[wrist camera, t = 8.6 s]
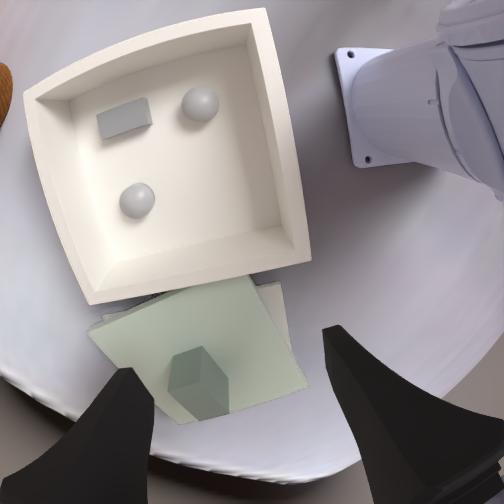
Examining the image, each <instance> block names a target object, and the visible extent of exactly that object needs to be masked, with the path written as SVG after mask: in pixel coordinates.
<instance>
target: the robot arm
mask: <svg viewBox="0 0 504 504" xmlns="http://www.w3.org/2000/svg"><path fill="white" fill-rule="evenodd" d="M436 29H437V31H438V33H439V35H440V36H437V37H433V38H430V39H426V40H423V41H420V42H417V43H413V44H410V45H407V46H404V47H401V48H398V49H395V50H391V49H376V48H339V49H337V50H336V51H335V53H334V57H335V61H336V65H337V70H338V75H339V79H340V84H341V89H342V95H343V100H344V106H345V112H346V118H347V124H348V130H349V137H350V144H351V152H352V160H353V164H354V165H355V166H356V167H358V168H368V167H375V166H383V165H391V164H399V163H407V162H418V163H422V164H425V165H428V166H432V167H435V168H438V169H441V170H445V171H448V172H451V173H454V174H457V175H460V176H463V177H466V178H468V179H471V180H474V181H477V182H479V183H482V184H484V185H486V186H488V187H490V188H491V189H492V190H493V192H494V193H495V196H496V198H497V200H500V201H502V202H504V0H455V1H453V2H451V3H449V4H448V5H446V6H445V7H443V8H442V9H441V10H440V17H439V23H438V24H437V28H436ZM347 52H349V53H351V54H352V58H349V57H348V56H347ZM367 156H368V157H369V162H368V163H366V162H365V158H366V157H367ZM322 333H323V342H324V353H325V363H326V369H327V372H328V376H329V379H330V382H331V385H332V388H333V391H334V393H335V395H336V398H337V400H338V402H339V404H340V406H341V409H342V411H343V413H344V415H345V417H346V420H347V422H348V424H349V426H350V428H351V431H352V433H353V435H354V438H355V440H356V443H357V445H358V448H359V451H360V455H361V458H362V461H363V465H364V468H365V471H366V475H367V478H368V482H369V486H370V490H371V494H372V497H373V501H374V504H504V475H503V476H501V477H500V475H499V473H498V471H500V470H501V467H500V465H499V463H498V461H499V460H500V459H501V458H502V457H503V456H504V420H503V419H499V418H495V417H490V416H486V415H482V414H478V413H475V412H472V411H469V410H466V409H463V408H461V407H458V406H456V405H453V404H451V403H449V402H446V401H444V400H442V399H440V398H437V397H435V396H433V395H431V394H429V393H428V392H426V391H424V390H422V389H420V388H418V387H417V386H415V385H413V384H412V383H410V382H409V381H407V380H405V379H404V378H402V377H401V376H399V375H398V374H397V373H395V372H394V371H392V370H391V369H390V368H388V367H387V366H386V365H384V364H383V363H382V362H380V361H379V360H378V359H377V358H376V357H374V356H373V355H372V354H371V353H369V352H368V351H367V350H366V349H365V348H364V347H363V346H361V345H360V344H359V343H358V342H357V341H356V340H355V339H354V338H353V337H352V336H351V335H350V334H349V333H348V332H347V331H346V330H345V329H344V328H343V327H342V326H340V325H336V326H332V327H329V328H325V329H322ZM153 425H154V398H153V396H152V395H151V394H150V392H149V391H148V390H147V388H146V387H145V385H144V384H143V382H142V381H141V380H140V378H139V377H138V375H137V374H136V372H135V371H134V369H133V368H132V367H127V368H119V369H118V370H117V371H116V373H115V374H114V375H113V376H112V377H111V379H110V380H109V381H108V383H107V384H106V385H105V386H104V388H103V389H102V390H101V392H100V393H99V394H98V396H97V397H96V398H95V399H94V401H93V402H92V403H91V405H90V406H89V407H88V408H87V410H86V411H85V412H84V413H83V414H82V416H81V417H80V418H79V419H78V420H77V422H76V423H75V424H74V425H73V426H72V428H71V429H70V430H69V431H68V432H67V433H66V434H65V435H64V436H63V437H62V438H61V439H60V440H59V441H58V442H57V443H56V444H55V445H54V446H52V447H51V448H50V449H49V450H48V451H46V452H45V453H44V454H43V455H42V456H40V457H39V458H38V459H36V460H35V461H33V462H32V463H30V464H29V465H27V466H26V467H24V468H23V469H21V470H19V471H17V472H16V473H13V474H12V475H10V476H8V477H5V478H4V479H3V481H2V484H1V487H0V504H148V500H147V467H148V460H149V453H150V446H151V439H152V432H153Z"/></svg>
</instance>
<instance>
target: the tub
mask: <svg viewBox="0 0 504 504" xmlns="http://www.w3.org/2000/svg"><path fill="white" fill-rule="evenodd" d="M23 99H24V106H25V113H26V119H27V125H28V130H29V135H30V140H31V145H32V149H33V153H34V158H35V162H36V166H37V170H38V173H39V177H40V181H41V184H42V188H43V191H44V194H45V198H46V201H47V204H48V207H49V210H50V213H51V216H52V219H53V222H54V224H55V227H56V230H57V233H58V235H59V238H60V241H61V243H62V246H63V248H64V251H65V253H66V255H67V258H68V260H69V263H70V265H71V267H72V270H73V272H74V274H75V276H76V278H77V281H78V283H79V285H80V287H81V289H82V291H83V293H84V295H85V297H86V299H87V301H88V303H89V305H94V304H100V303H106V302H111V301H116V300H122V299H127V298H133V297H138V296H143V295H148V294H154V293H159V292H164V291H169V290H174V289H179V288H184V287H189V286H194V285H199V284H204V283H209V282H214V281H219V280H224V279H229V278H233V277H238V276H243V275H248V274H253V273H257V272H262V271H267V270H271V269H276V268H280V267H285V266H290V265H294V264H299V263H303V262H308V261H312V257H311V249H310V241H309V233H308V225H307V218H306V211H305V204H304V197H303V190H302V183H301V177H300V171H299V165H298V159H297V153H296V147H295V141H294V136H293V130H292V125H291V120H290V115H289V109H288V104H287V99H286V94H285V90H284V85H283V80H282V76H281V71H280V67H279V62H278V58H277V53H276V49H275V45H274V41H273V37H272V33H271V29H270V25H269V21H268V17H267V13H266V9H265V8H256V9H248V10H240V11H234V12H228V13H222V14H216V15H211V16H207V17H202V18H197V19H193V20H189V21H185V22H181V23H177V24H174V25H170V26H166V27H163V28H160V29H157V30H153V31H150V32H147V33H144V34H141V35H138V36H136V37H133V38H130V39H127V40H125V41H122V42H120V43H117V44H115V45H112V46H110V47H107V48H105V49H103V50H100V51H98V52H96V53H94V54H92V55H89V56H87V57H85V58H83V59H81V60H79V61H77V62H75V63H73V64H71V65H69V66H67V67H65V68H63V69H62V70H60V71H58V72H56V73H54V74H53V75H51V76H49V77H47V78H46V79H44V80H42V81H41V82H39V83H37V84H36V85H34V86H33V87H31V88H30V89H28V90H26V91H25V92H23Z"/></svg>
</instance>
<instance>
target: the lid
mask: <svg viewBox="0 0 504 504" xmlns="http://www.w3.org/2000/svg"><path fill="white" fill-rule="evenodd" d="M87 334H88V335H89V336H90V338H91V339H92V340H93V341H94V342H95V343H96V345H97V346H98V347H99V348H100V349H101V350H102V351H103V352H104V354H105V355H106V356H107V357H108V358H109V359H110V360H111V361H112V362H113V363H114V364H115V365H116V366H117V368H118V369H119V368H127V367H132V368H133V369H134V371H135V372H136V374H137V375H138V377H139V378H140V380H141V381H142V382H143V384H144V385H145V387H146V388H147V390H148V391H149V392H150V394H151V395H152V396H153V398H154V403H155V404H156V405H157V406H158V407H159V408H160V409H161V410H162V411H164V412H165V413H166V414H167V415H168V416H169V417H171V418H172V419H173V420H174V421H175V422H176V423H178V424H179V425H182V424H187V423H191V422H195V421H202V420H206V419H210V418H214V417H218V416H222V415H226V414H229V413H231V412H234V411H238V410H241V409H245V408H248V407H251V406H254V405H258V404H261V403H264V402H267V401H270V400H273V399H276V398H279V397H282V396H284V395H287V394H290V393H293V392H295V391H298V390H301V389H303V388H306V387H309V386H308V383H307V380H306V378H305V376H304V374H303V372H302V371H301V369H300V367H299V365H298V363H297V362H296V360H295V358H294V356H293V354H292V352H291V351H290V349H289V347H288V345H287V343H286V342H285V340H284V338H283V336H282V334H281V332H280V331H279V329H278V327H277V325H276V323H275V321H274V319H273V318H272V316H271V314H270V312H269V310H268V308H267V307H266V305H265V303H264V301H263V299H262V297H261V295H260V294H259V292H258V290H257V288H256V286H255V284H254V282H253V281H252V279H251V277H250V275H249V274H248V275H243V276H238V277H233V278H229V279H224V280H219V281H214V282H209V283H204V284H199V285H194V286H189V287H184V288H179V289H174V290H171V291H169V292H167V293H164V294H162V295H160V296H158V297H156V298H153V299H151V300H149V301H147V302H144V303H142V304H140V305H138V306H136V307H133V308H131V309H129V310H127V311H124V312H122V313H120V314H118V315H115V316H113V317H111V318H109V319H106V320H104V321H102V322H100V323H98V324H95V325H93V326H91V327H90V328H89V330H88V332H87Z"/></svg>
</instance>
